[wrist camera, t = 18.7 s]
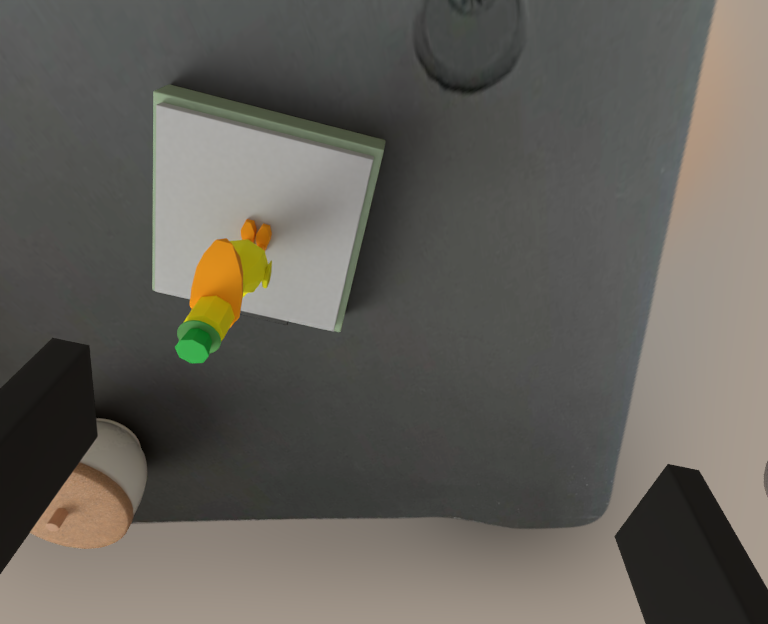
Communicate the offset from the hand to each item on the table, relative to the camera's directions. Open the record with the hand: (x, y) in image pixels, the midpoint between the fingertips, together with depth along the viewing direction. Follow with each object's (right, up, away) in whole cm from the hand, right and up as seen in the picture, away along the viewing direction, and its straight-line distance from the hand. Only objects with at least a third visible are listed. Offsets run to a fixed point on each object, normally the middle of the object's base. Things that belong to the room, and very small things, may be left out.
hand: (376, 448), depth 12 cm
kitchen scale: (-8, +10, +25) cm, 28 cm away
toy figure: (-8, +8, +23) cm, 26 cm away
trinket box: (-26, -9, +39) cm, 47 cm away
